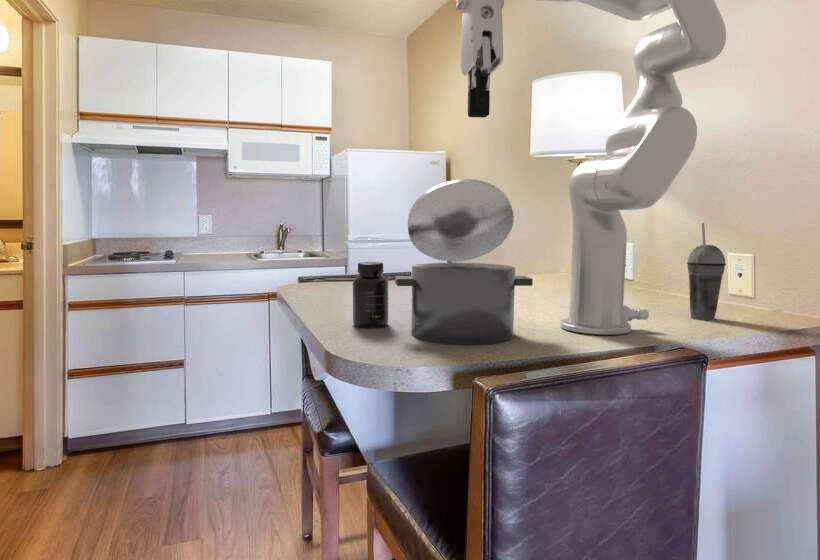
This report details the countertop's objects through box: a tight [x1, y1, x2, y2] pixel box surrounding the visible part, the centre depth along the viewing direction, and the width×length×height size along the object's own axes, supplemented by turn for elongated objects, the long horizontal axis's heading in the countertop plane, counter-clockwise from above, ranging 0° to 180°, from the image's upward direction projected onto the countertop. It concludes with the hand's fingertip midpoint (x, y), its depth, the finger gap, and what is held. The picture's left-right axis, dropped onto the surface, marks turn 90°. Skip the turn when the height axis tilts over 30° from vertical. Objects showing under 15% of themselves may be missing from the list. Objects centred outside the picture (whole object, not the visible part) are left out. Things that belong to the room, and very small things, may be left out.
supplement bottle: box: [352, 261, 389, 329], centre depth 105 cm, size 7×7×12 cm
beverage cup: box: [686, 222, 727, 321], centre depth 116 cm, size 7×7×20 cm
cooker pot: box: [394, 262, 534, 346], centre depth 98 cm, size 24×18×12 cm
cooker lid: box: [407, 178, 515, 262], centre depth 101 cm, size 19×19×3 cm
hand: (478, 116), depth 90 cm, fingers closed
